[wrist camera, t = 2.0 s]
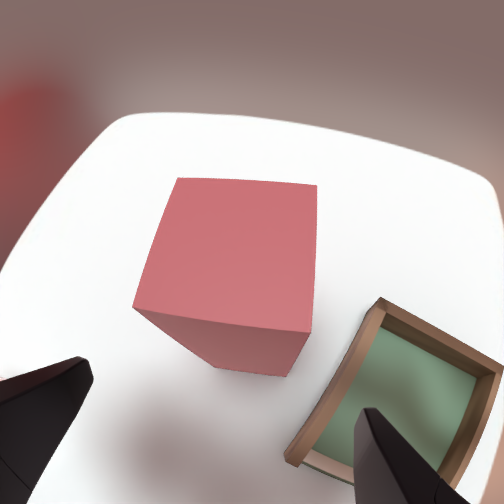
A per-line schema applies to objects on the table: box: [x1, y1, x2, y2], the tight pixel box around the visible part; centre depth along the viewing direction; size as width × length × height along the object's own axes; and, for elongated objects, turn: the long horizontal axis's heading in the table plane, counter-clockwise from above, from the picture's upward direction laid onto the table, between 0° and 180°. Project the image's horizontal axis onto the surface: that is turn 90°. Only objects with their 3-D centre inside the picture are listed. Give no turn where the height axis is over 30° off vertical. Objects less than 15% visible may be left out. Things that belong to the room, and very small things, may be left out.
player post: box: [132, 178, 317, 377], centre depth 14 cm, size 5×5×13 cm
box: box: [284, 297, 504, 490], centre depth 14 cm, size 12×13×3 cm
